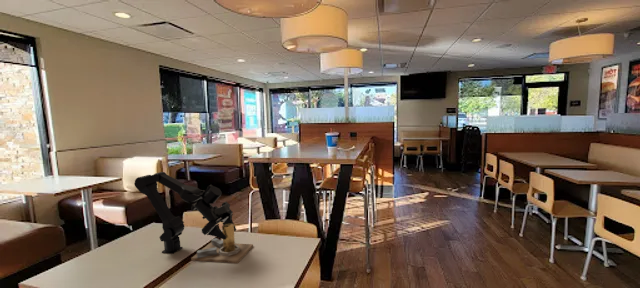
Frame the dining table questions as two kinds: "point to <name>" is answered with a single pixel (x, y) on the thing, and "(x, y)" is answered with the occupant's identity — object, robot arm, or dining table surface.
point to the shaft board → (221, 252)
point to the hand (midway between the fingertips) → (231, 234)
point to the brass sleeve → (228, 237)
